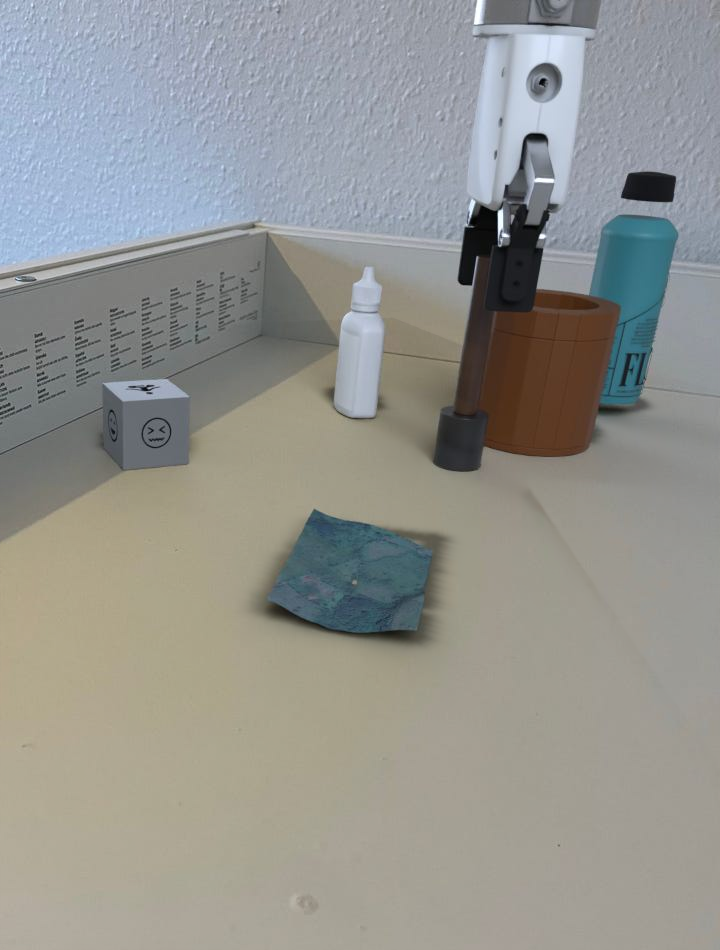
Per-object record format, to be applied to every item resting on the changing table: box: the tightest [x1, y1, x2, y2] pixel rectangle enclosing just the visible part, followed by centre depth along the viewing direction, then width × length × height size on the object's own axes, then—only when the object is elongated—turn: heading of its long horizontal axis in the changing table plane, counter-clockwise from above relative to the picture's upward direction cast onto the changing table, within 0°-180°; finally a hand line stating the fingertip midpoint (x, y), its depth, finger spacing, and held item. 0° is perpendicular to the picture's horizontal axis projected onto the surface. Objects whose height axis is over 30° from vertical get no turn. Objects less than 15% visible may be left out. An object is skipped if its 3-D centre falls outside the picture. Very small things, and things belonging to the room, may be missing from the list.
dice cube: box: [101, 378, 191, 471], centre depth 73 cm, size 5×5×5 cm
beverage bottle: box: [588, 170, 679, 406], centre depth 86 cm, size 6×7×20 cm
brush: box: [432, 255, 494, 472], centre depth 72 cm, size 4×4×15 cm
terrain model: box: [266, 508, 434, 634], centre depth 55 cm, size 13×8×2 cm, turn 165°
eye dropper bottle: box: [333, 266, 386, 419], centre depth 84 cm, size 4×6×12 cm
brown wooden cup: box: [478, 288, 621, 457], centre depth 80 cm, size 10×10×11 cm
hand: (492, 297), depth 70 cm, fingers open, 9 cm apart
